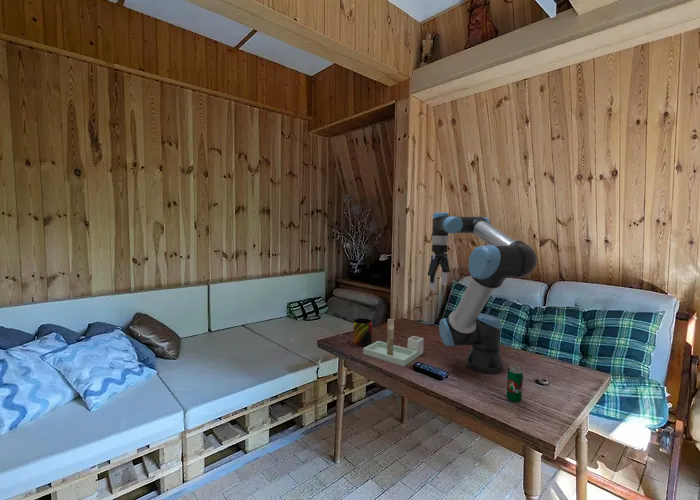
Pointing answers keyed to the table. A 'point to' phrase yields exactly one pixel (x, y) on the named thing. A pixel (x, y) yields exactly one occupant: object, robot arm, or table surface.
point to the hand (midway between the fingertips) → (438, 287)
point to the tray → (399, 355)
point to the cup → (416, 344)
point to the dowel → (390, 337)
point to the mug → (362, 332)
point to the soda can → (514, 383)
